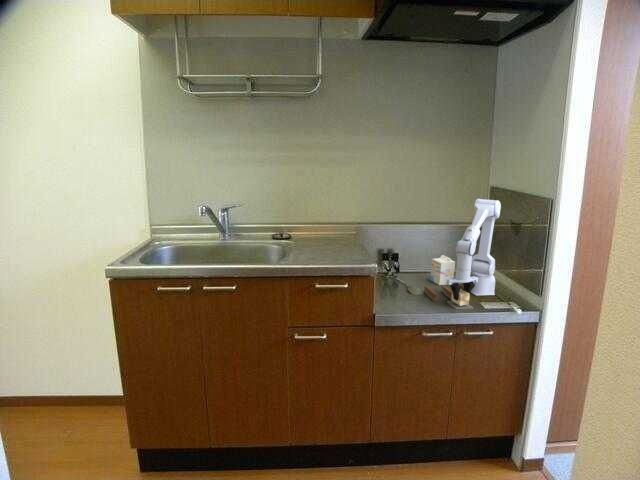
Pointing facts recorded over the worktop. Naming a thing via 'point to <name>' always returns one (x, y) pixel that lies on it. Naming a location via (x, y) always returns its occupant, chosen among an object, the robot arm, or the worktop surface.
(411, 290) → the soupspoon
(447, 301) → the gray mat
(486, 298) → the worktop surface
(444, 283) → the ink box
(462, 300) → the maple block
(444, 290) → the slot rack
